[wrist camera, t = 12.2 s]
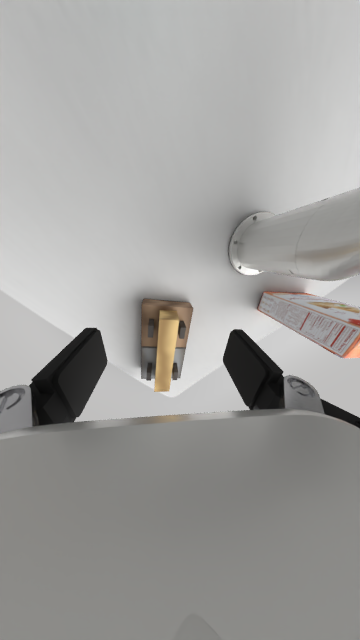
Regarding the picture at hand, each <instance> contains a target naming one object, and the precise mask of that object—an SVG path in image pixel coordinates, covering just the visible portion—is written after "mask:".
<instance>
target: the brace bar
mask: <svg viewBox="0 0 360 640" xmlns="http://www.w3.org/2000/svg"><path fill="white" fill-rule="evenodd" d="M178 326H179V318H178V314H177V311H169V310H160V313H159V328H158V343H157V358H156V372H155V392H161V391H169V389H170V382H171V375H172V368H173V361H174V354H175V347H176V340H177V333H178Z"/></svg>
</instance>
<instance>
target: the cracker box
mask: <svg viewBox="0 0 360 640" xmlns="http://www.w3.org/2000/svg"><path fill="white" fill-rule="evenodd" d="M258 311H260V312H262V313H264V314H265V315H267V316H269V317H271V318H272V319H274V320H276V321H278V322H279V323H281V324H283V325H285V326H286V327H288V328H290V329H292V330H293V331H295V332H297V333H299V334H300V335H302V336H304V337H305V338H307V339H309V340H311V341H313V342H314V343H316V344H318V345H319V346H321V347H323V348H325V349H326V350H328V351H330V352H331V353H333V354H335V355H337V356H339V357H340V358H360V307H357V306H353V305H349V304H346V303H342V302H337V301H334V300H330V299H326V298H323V297H319V296H315V295H311V294H307V293H286V292H263V295H262V298H261V301H260V304H259V307H258Z"/></svg>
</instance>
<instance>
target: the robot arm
mask: <svg viewBox="0 0 360 640" xmlns="http://www.w3.org/2000/svg"><path fill="white" fill-rule="evenodd" d="M229 257H230V262H231V264H232V266H233V267H234V269H235V270H236V271H237V272H239V273H241V274H244V275H249V276H251V275H257V274H260V273H262V272H264V271H266V272H271V273H277V274H283V275H289V276H295V277H301V278H306V279H313V280H320V281H336V280H343V279H346V278H350V277H354V276H357V275H359V274H360V188H357V189H354V190H351V191H348V192H345V193H342V194H339V195H336V196H333V197H330V198H327V199H324V200H321V201H318V202H315V203H312V204H309V205H306V206H303V207H300V208H297V209H294V210H291V211H288V212H285V213H282V214H279V215H275V214H273V213H271V212H258V213H255V214H253V215H251V216H249V217H247V218H246V219H245V220H244V221H242V223H241V224H240V225H239V226H238V227H237V229H236V230H235V232H234V234H233V236H232V239H231V242H230V247H229ZM238 266H239V267H238ZM223 363H224V365H225V366H226V368H227V370H228V372H229V374H230V376H231V378H232V380H233V382H234V384H235V386H236V388H237V389H238V391H239V393H240V395H241V397H242V399H243V401H244V403H245V404H246V405H247V406H248V407H249V409H250V410H246V411H245V410H244V411H228V412H212V413H197V414H183V415H168V416H167V415H166V416H152V417H138V418H124V419H111V420H97V421H84V422H74V421H75V419H76V417H79V416H80V414H81V413H82V411H83V409H84V407H85V405H86V403H87V401H88V399H89V397H90V396H91V394H92V392H93V390H94V388H95V386H96V384H97V382H98V380H99V378H100V376H101V375H102V373H103V371H104V369H105V367H106V365H107V357H106V353H105V349H104V345H103V341H102V336H101V332H100V330H97V328H85V329H84V330H83V331H82V332H81V333H80V334H79V335H78V336H77V337H76V338H75V339H74V340H73V341H71V343H70V344H68V345H67V346H66V347H65V348H64V349H63V350H62V351H61V352H60V353H59V354H58V355H57V356H56V357H55V358H54V359H53V360H51V361H50V362H49V363H48V364H47V365H46V366H45V367H44V368H43V369H42V370H41V371H40V372H39V373H38V374H37V375H36V376H35V377H34V378H33V379H32V381H33V382H32V383H31V384H30V385H29V386H27V385H17V386H12V387H10V388H6V389H4V390H2V391H0V640H360V418H359V417H357V416H355V415H353V414H351V413H349V412H347V411H344V410H343V409H340V408H339V407H336V406H334V405H332V404H330V403H328V402H326V401H324V400H322V399H320V397H319V394H318V392H317V391H316V389H315V388H314V387H313V386H312V385H310V384H309V383H308V382H306V381H305V380H303V379H301V378H299V377H296V376H291V375H289V376H285V377H283V376H282V373H283V371H282V370H281V369H280V368H279V367H278V366H277V365H276V364H275V363H274V362H273V361H272V360H271V358H270V357H269V356H268V355H267V354H266V353H265V352H264V351H263V350H262V349H261V348H260V347H259V346H258V345H257V344H256V343H255V342H254V341H253V340H252V339H251V338H250V337H249V336H248V335H247V334H246V333H245V332H244V331H243V330H238V329H234V330H233V331H231V333H230V336H229V339H228V343H227V346H226V349H225V353H224V356H223Z"/></svg>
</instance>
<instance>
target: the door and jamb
mask: <svg viewBox="0 0 360 640" xmlns="http://www.w3.org/2000/svg"><path fill="white" fill-rule="evenodd" d="M160 310H169V311H177V314H178V318H179V326H178V333H177V340H176V347H175V354H174V361H173V368H172V375H171V378H173V380H177V378H180V376H181V370H182V365H183V360H184V355H185V349H186V344H187V339H188V333H189V328H190V323H191V317H192V312H193V307H192V305H191V304H190V303H187V302H175V301H164V300H152V299H143V302H142V329H141V379H146V380H151V379H153V378H155V372H156V358H157V343H158V328H159V313H160Z"/></svg>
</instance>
